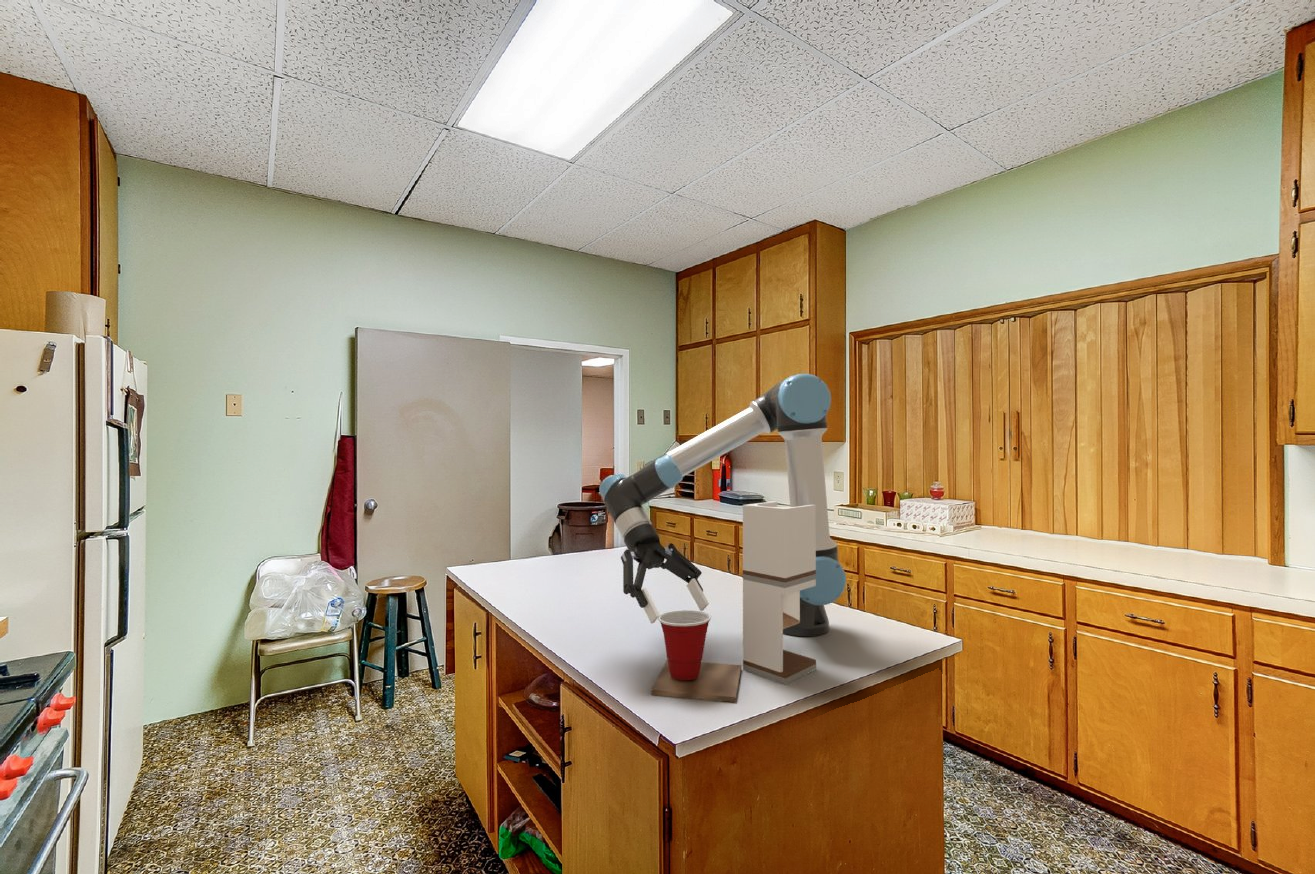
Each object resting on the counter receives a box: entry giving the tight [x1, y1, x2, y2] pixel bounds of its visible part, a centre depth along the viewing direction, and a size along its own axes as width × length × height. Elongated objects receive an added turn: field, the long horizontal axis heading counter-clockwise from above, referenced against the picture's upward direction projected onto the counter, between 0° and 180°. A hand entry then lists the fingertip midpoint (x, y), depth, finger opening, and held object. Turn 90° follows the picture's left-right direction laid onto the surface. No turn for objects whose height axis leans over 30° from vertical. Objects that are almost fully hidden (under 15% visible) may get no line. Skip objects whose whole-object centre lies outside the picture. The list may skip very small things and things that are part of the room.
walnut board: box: [650, 659, 742, 703], centre depth 117 cm, size 16×16×1 cm
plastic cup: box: [657, 609, 712, 680], centre depth 117 cm, size 11×11×12 cm
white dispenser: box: [742, 501, 817, 685], centre depth 123 cm, size 11×11×35 cm
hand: (681, 613), depth 120 cm, fingers open, 13 cm apart
